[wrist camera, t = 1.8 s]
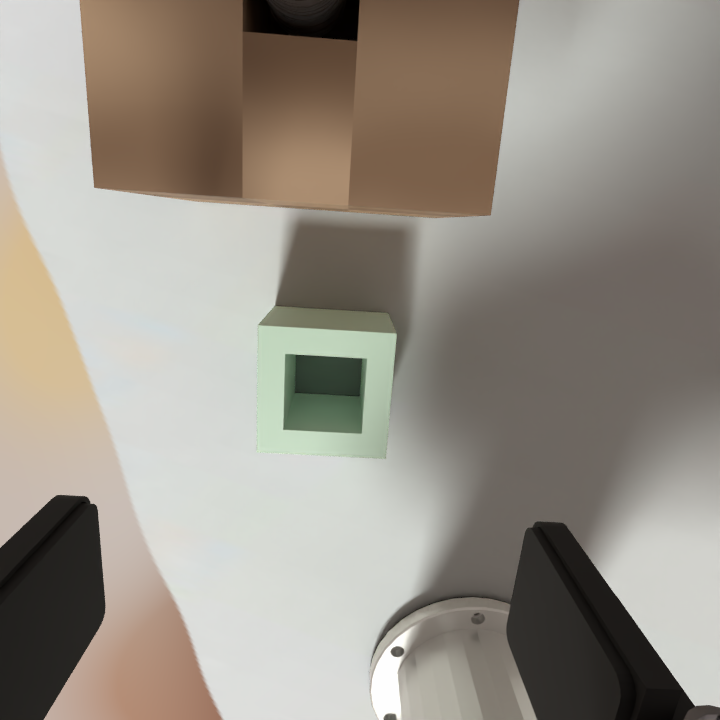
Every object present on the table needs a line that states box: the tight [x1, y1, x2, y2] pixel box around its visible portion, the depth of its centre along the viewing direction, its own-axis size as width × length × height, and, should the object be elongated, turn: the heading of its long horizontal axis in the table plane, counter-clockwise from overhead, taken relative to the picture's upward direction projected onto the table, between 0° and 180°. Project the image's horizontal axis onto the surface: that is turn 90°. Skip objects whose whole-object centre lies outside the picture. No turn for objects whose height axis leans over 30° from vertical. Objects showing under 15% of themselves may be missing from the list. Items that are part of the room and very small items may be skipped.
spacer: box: [257, 306, 397, 459], centre depth 24 cm, size 6×6×5 cm
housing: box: [80, 0, 519, 218], centre depth 18 cm, size 12×12×10 cm
